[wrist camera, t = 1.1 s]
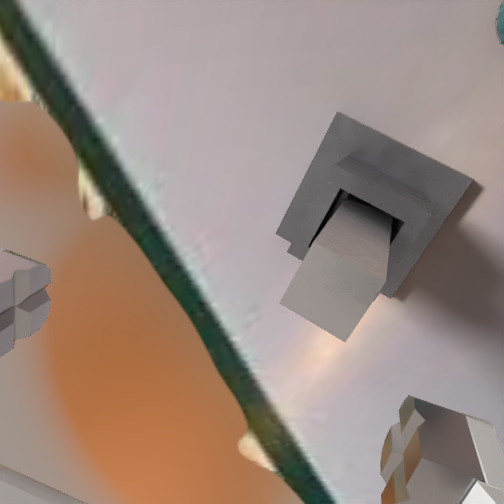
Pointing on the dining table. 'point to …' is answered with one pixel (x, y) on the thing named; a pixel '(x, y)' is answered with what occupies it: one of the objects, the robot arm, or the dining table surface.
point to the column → (342, 268)
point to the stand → (374, 193)
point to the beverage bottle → (501, 23)
